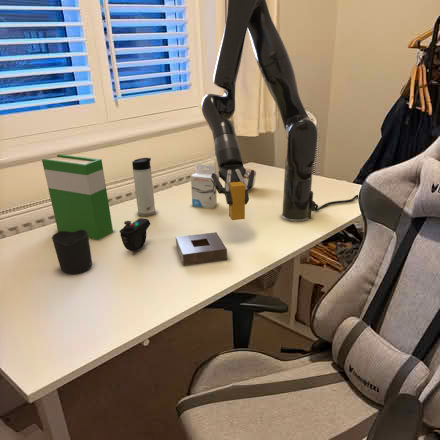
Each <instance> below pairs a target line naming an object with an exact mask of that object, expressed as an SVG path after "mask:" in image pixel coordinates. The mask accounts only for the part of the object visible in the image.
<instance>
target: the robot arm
mask: <svg viewBox="0 0 440 440" xmlns="http://www.w3.org/2000/svg"><path fill="white" fill-rule="evenodd" d="M226 9H227V11H226V12H227V13H226V18H225V19H226V20H225V24H224V25H225V26H224V31H223V36H222V39H221V44H220V46H219V51H218V55H217V60H216V62H215V63H216V64H215V68H214V73H213V78H212V83H213V84H214V85H215V87H218V88H221V89H222V90H223V95H221V94H220V95H219V94H215V93H207V94H205V96H203V98H202V100H201V108H200V109H201V113H202V116H203V118H204V120H205V122H206V123H207V125H208V128H209V129H210V131H211V133H212V139H213V144H214V146H213V147H214V155H215V157H216V163H217V168H218V172H216V174H215V173H212V176H211V181H212V183H213V184H214V186H215V188H216V192H217V193H218V194H220V195H221V194H223V195H224V197H225V200H226V201H225V202H226V205H228V207H229V206H232V204H233V201H232V197H231V192H230V186H229V183H231V182H242V183H243V184H244V185H245V205H247V204H248V203H249V200H250V196H249V192H251V191H252V189H253V188H254V186H253V180H254V173H255V172H254V170H255V169H252V170H251V171H247V170H246V169H245V166H244V163H243V158H242V153H241V149H240V144H239V141H238V139H237V135H236V129H235V126H234V123H233V122H232V121H231V120H230V119H231V118H232V117H233V116H234V114H235V111H236V85H237V84H236V83H237V79H238V75H239V72H240V67H241V62H242V59H243V51H244V46H245V41H246V40H245V39H246V36H247V31H248V35H249V39H250V42H251V46H252V51H253V54H254V57H255V61H256V64H257V67H258V70H259V72H260V75H261V77H262V79H263V82H264V84H265V86H266V88H267V90H268V92H269V94H270V96H271V98H272V100H273V101H274V103H275V105H276V107H277V109H278V111H279V114H280V118H281V121H282V125H283V128H284V134H285V136H286V139H287V146H286V158H285V161H284V176H283V177H284V179H283V195H282V214H281V218H282V219H283V220H284V221H288V222H293V223H301V222H305V221H309V220H311V219H312V214H313V213H312V212H319V210H322V209H324V208H326V207H328V206H330V205H334V204H336V205H337V204H346V203H351V202H354V201H355V200H357V199H359V198H358V195H359V194H356V195H354V196H353V197H352V198H349V199H343V200H335V201H328V202H326V203H324V204H323V205H321V206H319V205H318V204H317V203H316V202H315V201H314V198H313V197H314V191H313V190H312V183H313V171H314V164H315V160H316V156H317V155H316V154H317V145H318V128H317V125H316V124H315V123H314V122H313V120H312V119H311V118H310V116H309V114H308V113H307V111H306V109H305V107H304V105H303V102H302V100H301V97H300V94H299V89H298V84H297V78H296V74H295V70H294V67H293V64H292V61H291V58H290V55H289V53H288V51H287V48H286V46H285V44H284V40H283V39H282V37H281V35H280V33H279V31H278V29H277V27H276V25H275V23H274V21H273V19H272V17H271V14H270V11H269V7H268V4H267V0H227V8H226ZM244 175H246V176H247V178H248V186H246V184H245V180H244V179H243V177H244ZM220 179H221V180H222V181H223V182H224V186H223V184H222V183H221V181H220ZM252 187H253V188H252ZM251 188H252V189H251ZM248 191H249V192H248Z"/></svg>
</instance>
